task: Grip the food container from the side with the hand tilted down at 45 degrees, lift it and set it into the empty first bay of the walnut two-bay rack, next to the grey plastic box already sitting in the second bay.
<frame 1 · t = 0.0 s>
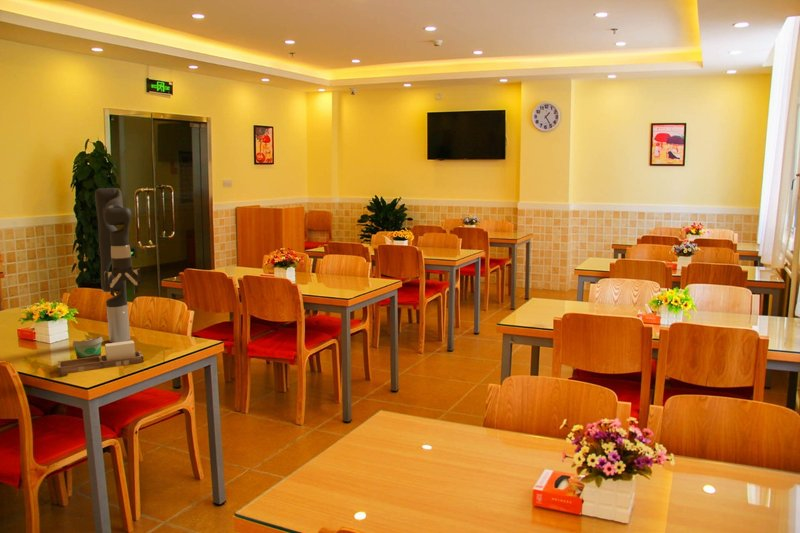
hand: (124, 295, 284), 29 cm above the table, tool pointing down, fingers open, 8 cm apart
rack: (101, 367, 284), on the table
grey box: (121, 361, 287), point 1 cm above the table, touching rack
food container: (92, 362, 292), on the table
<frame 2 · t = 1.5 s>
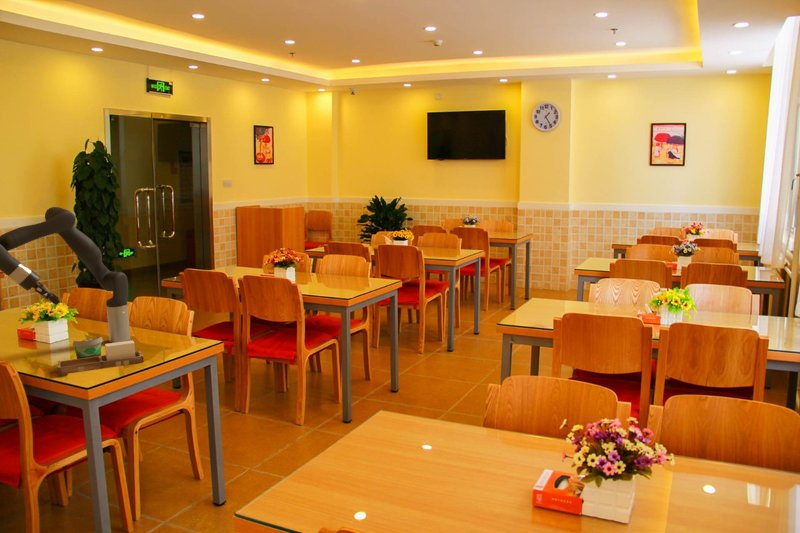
hand: (57, 301, 286), 27 cm above the table, tool tilted 45°, fingers open, 8 cm apart
nothing on the table moved.
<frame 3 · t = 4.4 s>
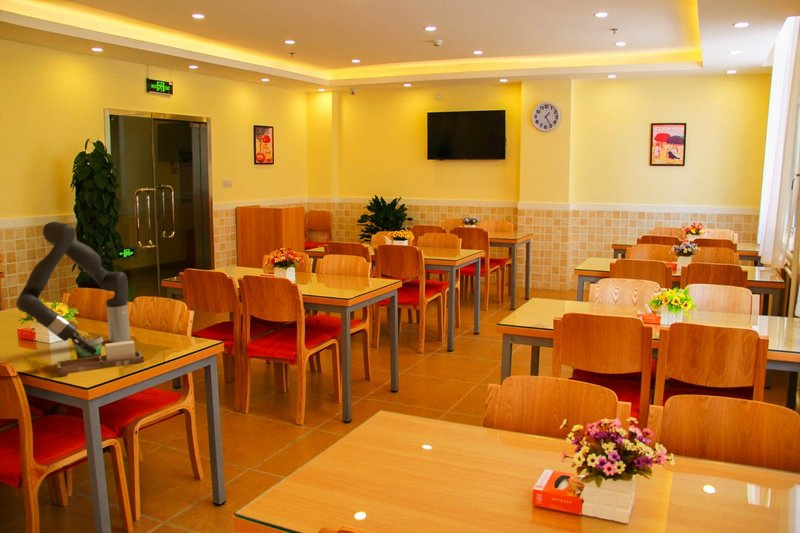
hand: (94, 350, 293), 5 cm above the table, tool tilted 45°, fingers closed on food container, 7 cm apart
food container: (92, 362, 292), on the table, touching gripper
everything else where it was.
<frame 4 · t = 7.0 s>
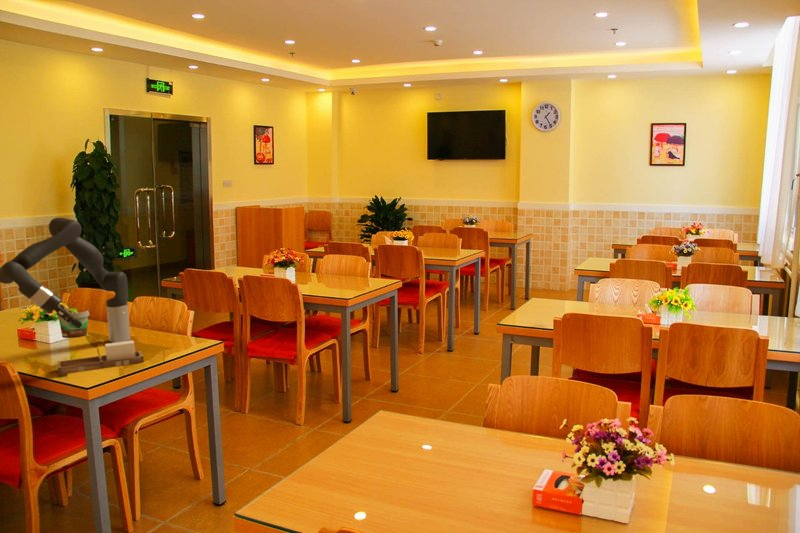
hand: (80, 324, 278), 19 cm above the table, tool tilted 45°, fingers closed on food container, 7 cm apart
food container: (77, 336, 278), point 14 cm above the table, touching gripper
everything else where it was.
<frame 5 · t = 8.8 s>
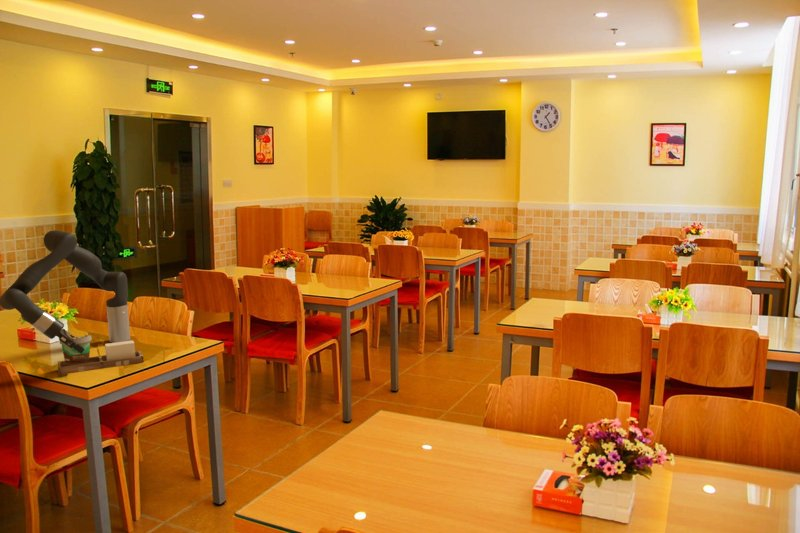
hand: (82, 349, 280), 9 cm above the table, tool tilted 45°, fingers closed on food container, 7 cm apart
food container: (79, 361, 280), point 4 cm above the table, touching gripper
everything else where it was.
when the fingers open (7 cm above the table, at t = 9.8 s): food container drops 1 cm, resting on rack.
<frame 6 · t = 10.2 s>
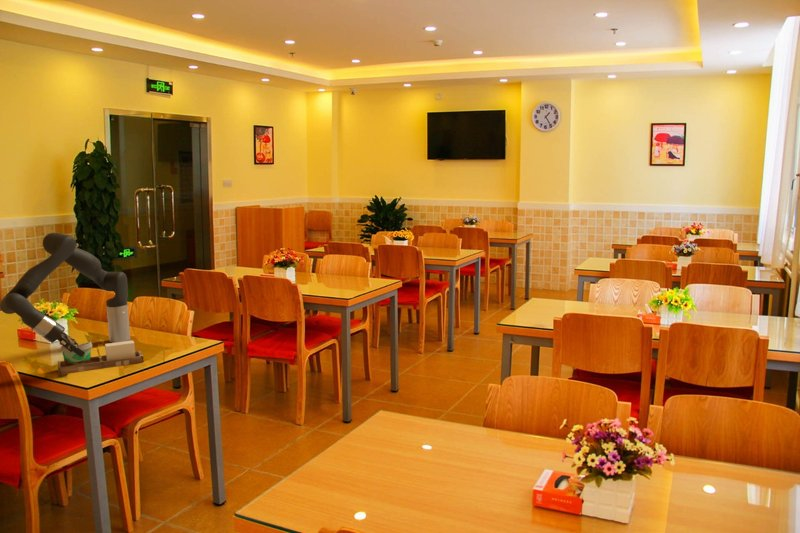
hand: (82, 352, 280), 7 cm above the table, tool tilted 45°, fingers open, 8 cm apart
food container: (80, 368, 280), point 1 cm above the table, touching rack
everything else where it was.
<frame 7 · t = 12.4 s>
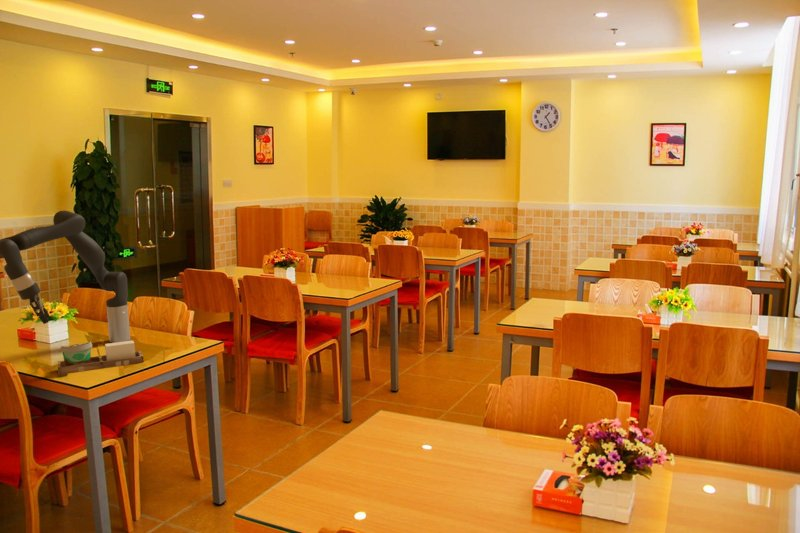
hand: (46, 319, 278), 21 cm above the table, tool tilted 25°, fingers open, 8 cm apart
nothing on the table moved.
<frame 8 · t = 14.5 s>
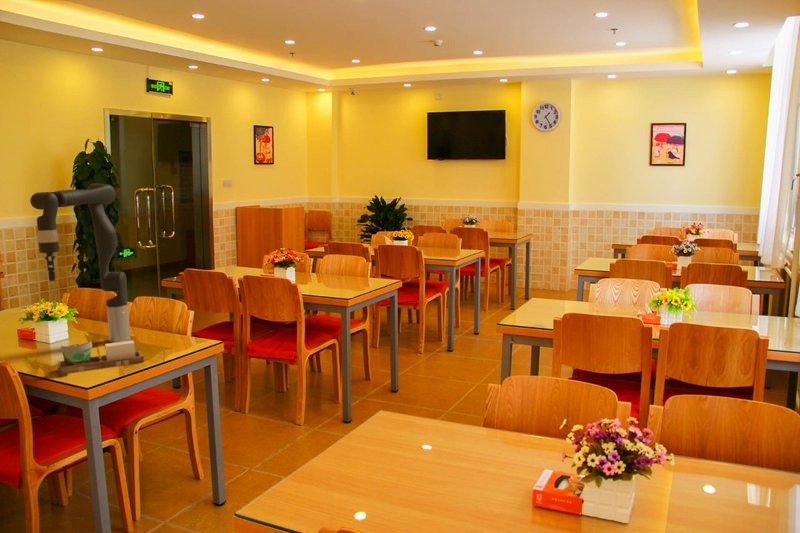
hand: (52, 279, 286), 36 cm above the table, tool pointing down, fingers open, 8 cm apart
nothing on the table moved.
at the end: food container inside the target area on the rack (0.7 cm from its centre), point 0.8 cm above the rack's base; food container tilted 0°; the gripper is holding nothing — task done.
